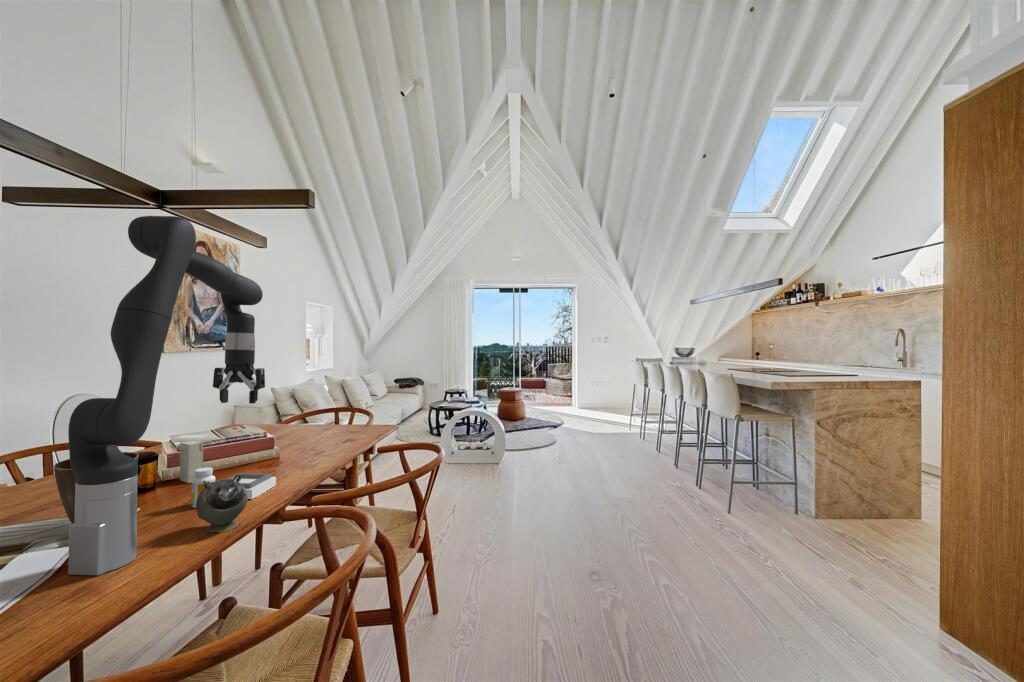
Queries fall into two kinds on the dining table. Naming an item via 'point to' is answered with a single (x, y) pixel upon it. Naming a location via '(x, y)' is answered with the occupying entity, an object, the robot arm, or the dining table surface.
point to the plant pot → (71, 484)
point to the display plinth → (256, 483)
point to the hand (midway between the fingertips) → (238, 403)
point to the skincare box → (190, 459)
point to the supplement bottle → (200, 482)
